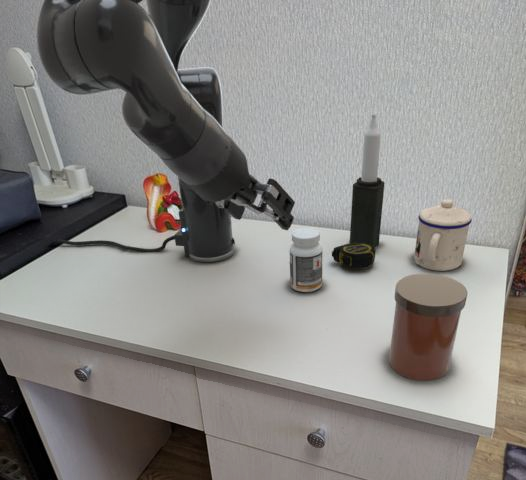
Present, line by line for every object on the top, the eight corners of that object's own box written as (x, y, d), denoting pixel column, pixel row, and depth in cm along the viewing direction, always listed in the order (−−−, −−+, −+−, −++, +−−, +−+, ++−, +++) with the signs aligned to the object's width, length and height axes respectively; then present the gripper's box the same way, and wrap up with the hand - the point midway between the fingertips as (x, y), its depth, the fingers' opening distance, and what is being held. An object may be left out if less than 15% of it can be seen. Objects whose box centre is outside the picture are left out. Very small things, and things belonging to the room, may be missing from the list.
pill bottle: (328, 283, 88) (330, 231, 82) (309, 296, 85) (309, 242, 79) (302, 275, 91) (302, 224, 86) (283, 287, 88) (282, 234, 82)
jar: (384, 377, 66) (393, 302, 59) (389, 341, 73) (397, 271, 66) (451, 386, 64) (469, 309, 57) (450, 349, 70) (466, 276, 64)
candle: (371, 253, 98) (382, 116, 83) (347, 248, 100) (354, 114, 86) (380, 244, 101) (393, 110, 87) (357, 239, 104) (366, 109, 89)
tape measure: (361, 255, 97) (362, 237, 95) (381, 268, 92) (383, 249, 90) (331, 262, 95) (331, 244, 93) (350, 276, 90) (351, 257, 88)
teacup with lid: (419, 248, 99) (428, 190, 92) (467, 256, 95) (479, 195, 88) (402, 273, 90) (410, 211, 83) (453, 282, 86) (466, 218, 80)
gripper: (263, 130, 54) (316, 203, 68) (170, 120, 61) (235, 188, 75) (237, 192, 54) (295, 252, 68) (146, 175, 61) (216, 233, 75)
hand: (264, 218), depth 71 cm, fingers open, 8 cm apart
